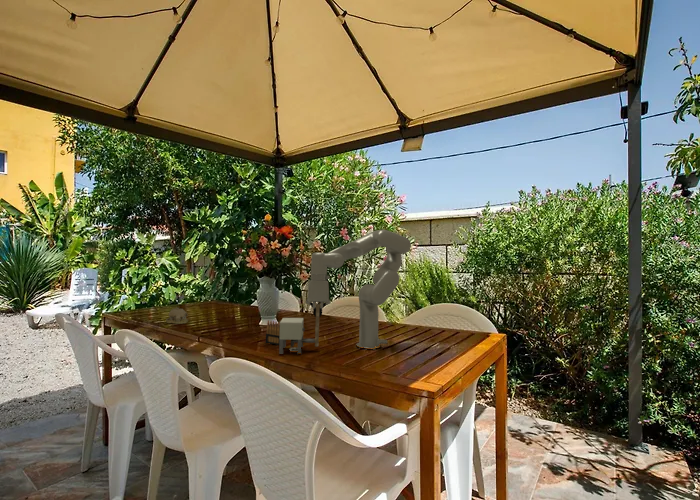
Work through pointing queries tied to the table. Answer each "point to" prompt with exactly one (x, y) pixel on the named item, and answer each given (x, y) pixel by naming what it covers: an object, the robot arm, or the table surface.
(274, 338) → the ammunition clip
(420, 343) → the table surface
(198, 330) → the table surface
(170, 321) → the ceramic model
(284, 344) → the cabinet
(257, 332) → the table surface
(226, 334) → the table surface
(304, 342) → the hook scraper
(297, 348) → the steel disc
